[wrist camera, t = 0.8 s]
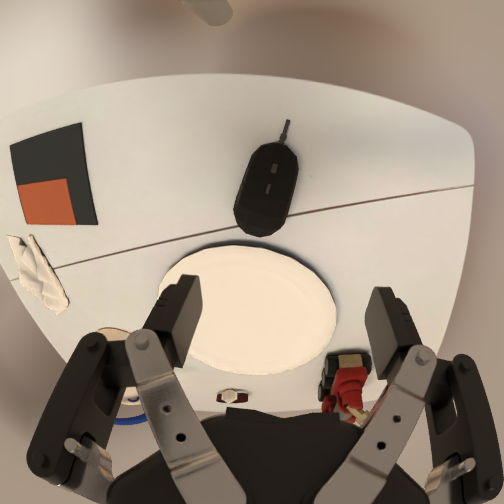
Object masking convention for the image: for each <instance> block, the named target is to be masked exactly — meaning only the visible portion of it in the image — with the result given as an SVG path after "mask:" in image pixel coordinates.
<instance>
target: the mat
mask: <svg viewBox="0 0 504 504" xmlns="http://www.w3.org/2000/svg"><path fill="white" fill-rule="evenodd" d="M10 152H11V158H12V164H13V170H14V175H15V180H16V185H17V189H18V194H19V198H20V202H21V206H22V209H23V213H24V217H25V220H26V223H27V224H39V225H98V222H97V217H96V213H95V209H94V204H93V199H92V194H91V189H90V183H89V177H88V171H87V165H86V158H85V151H84V142H83V133H82V123H78V124H74V125H70V126H66V127H63V128H60V129H56V130H53V131H50V132H46V133H43V134H40V135H37V136H34V137H32V138H29V139H26V140H23V141H21V142H18V143H15V144H13V145H10Z"/></svg>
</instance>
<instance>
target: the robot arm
mask: <svg viewBox="0 0 504 504" xmlns="http://www.w3.org/2000/svg"><path fill="white" fill-rule="evenodd" d="M202 308H203V300H202V292H201V285H200V278H199V276H198V275H189V274H182V275H181V277H180V278H179V280H178V282H177V284H170V285H169V286H167V287H166V288H165V289H164V290H163V291H162V293H161V295H160V296H159V299H158V300H157V302H156V304H155V306H154V307H153V309H152V311H151V313H150V315H149V316H148V318H147V320H146V322H145V324H144V326H143V328H142V329H140V330H136V331H134V332H132V333H131V334H130V335H129V336H128V337H127V339H126V340H115V341H108V340H107V338H106V336H105V335H104V334H102V333H99V332H92V333H89V334H87V335H85V336H84V337H83V338H82V339H81V340H80V341H79V343H78V345H77V347H76V348H75V350H74V352H73V354H72V356H71V358H70V359H69V361H68V363H67V365H66V367H65V369H64V371H63V373H62V375H61V377H60V378H59V380H58V382H57V385H56V386H55V388H54V390H53V393H52V395H51V397H50V399H49V401H48V403H47V405H46V407H45V410H44V412H43V414H42V417H41V419H40V421H39V423H38V426H37V428H36V431H35V433H34V435H33V438H32V441H31V443H30V446H29V448H28V451H27V457H26V458H27V464H28V467H29V468H30V470H31V471H32V473H34V474H35V475H36V476H38V477H40V478H42V479H44V480H46V481H48V482H49V483H51V484H53V485H55V486H57V487H59V488H62V489H64V490H66V491H70V492H73V493H76V494H79V495H81V496H83V497H85V498H87V499H89V500H92V501H94V502H96V503H99V504H482V503H485V502H487V501H489V500H492V499H494V498H495V497H496V496H497V495H498V494H499V492H500V491H501V489H502V486H503V481H504V477H503V469H502V461H501V454H500V449H499V443H498V438H497V434H496V429H495V425H494V421H493V417H492V413H491V409H490V406H489V402H488V399H487V396H486V393H485V389H484V386H483V383H482V380H481V377H480V375H479V372H478V369H477V366H476V364H475V362H474V360H473V359H472V358H471V357H469V356H468V355H465V354H459V355H456V356H455V357H454V359H453V360H452V361H447V360H442V359H438V358H436V355H435V353H434V352H433V351H432V350H431V349H430V348H429V347H427V346H424V345H423V344H422V342H421V339H420V337H419V334H418V332H417V329H416V327H415V324H414V322H413V320H412V317H411V315H410V313H409V310H408V308H407V306H406V304H405V303H404V302H403V301H402V300H401V299H400V298H395V295H394V293H393V291H392V289H391V287H374V289H373V291H372V294H371V297H370V300H369V303H368V306H367V309H366V312H365V326H366V329H367V333H368V337H369V342H370V346H371V350H372V354H373V359H374V363H375V368H376V372H377V377H378V380H384V379H387V385H386V387H385V389H384V390H383V392H382V394H381V395H380V397H379V399H378V400H377V402H376V404H375V405H374V407H373V409H372V410H371V411H370V413H369V415H368V416H367V417H366V419H365V420H364V422H363V423H362V424H361V426H360V427H358V426H356V425H355V424H353V423H350V422H348V421H345V420H341V419H340V413H339V412H327V413H309V414H305V415H299V416H295V417H289V418H280V417H276V416H273V415H270V414H266V413H263V412H260V411H257V410H250V409H240V408H232V407H227V409H226V414H219V415H214V416H211V417H208V418H205V419H203V420H201V421H199V420H198V418H197V416H196V414H195V412H194V410H193V408H192V407H191V405H190V403H189V401H188V399H187V397H186V395H185V393H184V391H183V389H182V387H181V385H180V383H179V381H178V379H177V377H176V375H175V373H174V372H173V369H174V367H178V368H183V365H184V362H185V359H186V356H187V353H188V350H189V347H190V345H191V342H192V339H193V336H194V333H195V330H196V327H197V325H198V322H199V319H200V316H201V313H202ZM127 387H136V390H137V393H138V396H139V399H140V402H141V404H142V407H143V410H144V412H145V415H146V418H147V420H148V422H149V425H150V428H151V430H152V432H153V435H154V437H155V439H156V441H157V444H158V446H159V448H160V450H158V451H157V452H155V453H154V454H152V455H151V456H149V457H148V458H146V459H145V460H143V461H141V462H140V463H139V464H137V465H135V466H134V467H132V468H130V469H129V470H127V471H125V472H124V473H122V474H120V475H119V476H117V477H116V478H115V479H114V478H113V475H112V471H111V468H112V460H111V457H110V455H109V453H108V452H107V451H106V446H107V443H108V440H109V437H110V434H111V431H112V427H113V425H114V422H115V419H116V416H117V413H118V410H119V407H120V404H121V402H122V399H123V396H124V393H125V391H126V388H127ZM453 400H454V401H455V405H456V409H457V416H456V412H455V408H454V403H453ZM424 406H425V411H426V417H427V423H428V429H429V435H430V443H431V452H432V462H433V470H432V471H431V472H430V474H429V476H428V478H427V481H426V483H425V490H424V489H423V488H422V487H421V486H420V485H419V484H418V483H416V482H415V481H414V480H413V479H412V478H411V477H410V476H409V475H408V474H407V473H406V472H405V471H404V470H403V469H402V468H401V467H400V466H399V465H398V464H397V463H396V461H397V459H398V458H399V456H400V454H401V453H402V451H403V449H404V447H405V445H406V443H407V441H408V439H409V437H410V436H411V434H412V431H413V430H414V428H415V426H416V423H417V421H418V419H419V417H420V415H421V412H422V410H423V408H424Z"/></svg>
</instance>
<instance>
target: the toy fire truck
mask: <svg viewBox="0 0 504 504" xmlns="http://www.w3.org/2000/svg"><path fill="white" fill-rule="evenodd" d="M371 367H372V361H371V356H370V355H369V354H365V355H360V354H352V355H339V356H330V357H326V360H325V369H324V370H323V371H322V372H323V373H322V384H319V390H318V399H319V402H323V403H322V413H327V412H339V413H340V419H341V420H345V421H348V422H350V423H354V422H355V421H357V422H358V423H359V424H360V425H361V424H362V423H363V422H364V420H365V419H366V417H367V416H368V415H369V413H370V412H369V411H367V410H366V411H365V412H364V411H363V410H362V409H363V403H362V395H361V394H362V387H363V386H364V384H365V381H366V379H367V377H368V375H369V374H370V372H371Z"/></svg>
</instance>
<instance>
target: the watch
mask: <svg viewBox="0 0 504 504" xmlns="http://www.w3.org/2000/svg"><path fill="white" fill-rule="evenodd" d="M216 401H217V402H222V403H228V404H230V403H243V402H247V401H248V394H246V393H237V392H235V391H233V390H226V391H225V392H224V393H222V394H218V395H217V400H216Z"/></svg>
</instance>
